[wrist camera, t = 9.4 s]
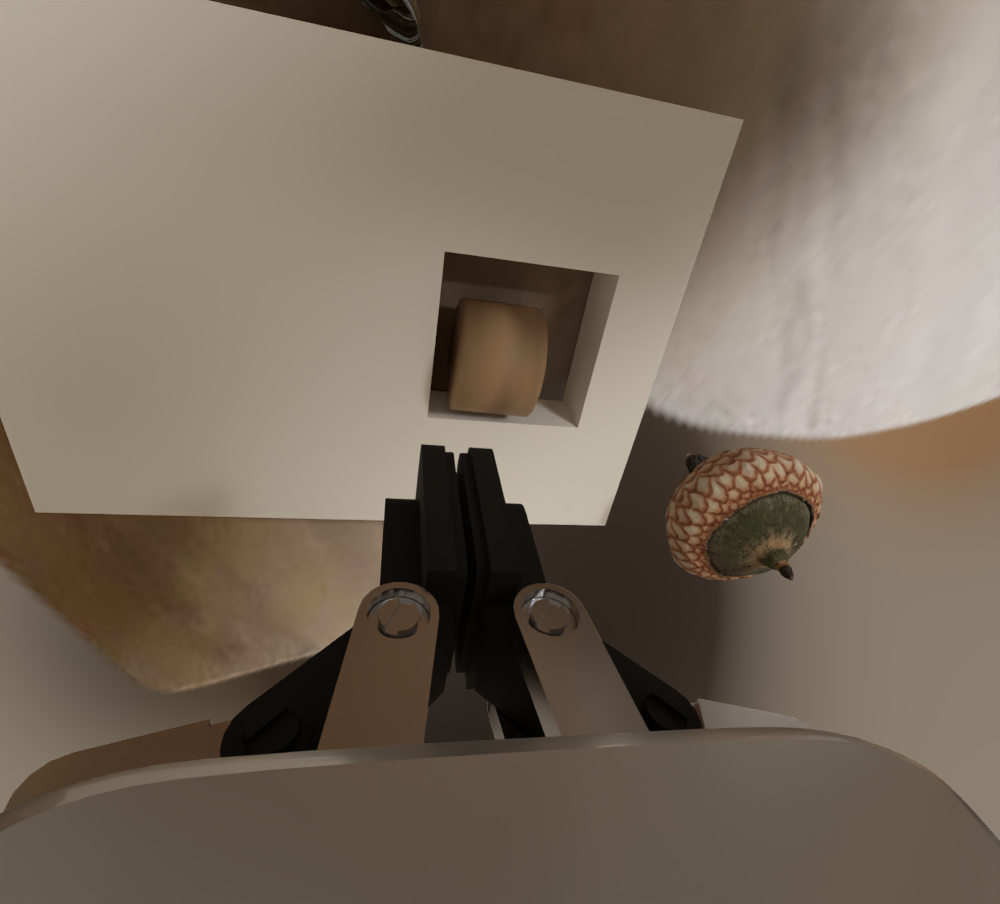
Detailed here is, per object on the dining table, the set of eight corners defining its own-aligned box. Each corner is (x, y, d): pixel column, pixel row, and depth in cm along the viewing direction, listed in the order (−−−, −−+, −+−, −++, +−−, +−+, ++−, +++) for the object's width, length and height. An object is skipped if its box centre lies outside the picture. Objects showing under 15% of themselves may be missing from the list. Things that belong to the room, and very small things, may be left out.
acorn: (609, 440, 31) (688, 560, 22) (742, 374, 30) (875, 474, 21) (649, 529, 35) (726, 657, 27) (765, 475, 34) (882, 590, 26)
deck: (705, 119, 22) (744, 119, 20) (589, 494, 33) (605, 525, 30) (-97, -57, 16) (-186, -88, 14) (69, 475, 26) (35, 512, 24)
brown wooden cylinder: (461, 279, 24) (533, 290, 25) (444, 371, 27) (510, 379, 28) (471, 331, 20) (556, 342, 21) (450, 431, 23) (525, 438, 24)
